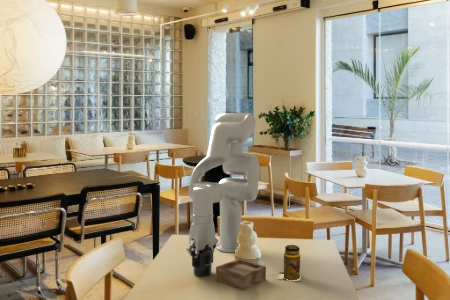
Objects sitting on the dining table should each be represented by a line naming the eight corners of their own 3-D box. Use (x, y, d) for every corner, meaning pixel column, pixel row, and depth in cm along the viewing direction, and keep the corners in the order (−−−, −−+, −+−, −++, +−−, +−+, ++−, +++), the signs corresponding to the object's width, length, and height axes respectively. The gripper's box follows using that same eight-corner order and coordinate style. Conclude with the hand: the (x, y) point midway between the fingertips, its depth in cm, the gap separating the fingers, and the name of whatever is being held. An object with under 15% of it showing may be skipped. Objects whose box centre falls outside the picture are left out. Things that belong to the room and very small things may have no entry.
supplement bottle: (209, 277, 184) (209, 246, 183) (191, 276, 185) (191, 245, 184) (213, 271, 191) (213, 241, 189) (196, 269, 192) (196, 239, 191)
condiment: (299, 282, 180) (299, 250, 179) (276, 279, 183) (276, 248, 181) (302, 275, 187) (302, 244, 186) (280, 272, 190) (280, 242, 188)
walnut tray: (239, 271, 191) (239, 258, 190) (265, 280, 182) (266, 266, 181) (216, 280, 181) (216, 266, 180) (242, 290, 172) (242, 276, 172)
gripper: (211, 213, 194) (211, 256, 196) (178, 221, 182) (179, 268, 184) (225, 216, 189) (225, 261, 191) (192, 225, 177) (192, 273, 179)
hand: (202, 264), depth 188 cm, fingers closed on supplement bottle, 6 cm apart
